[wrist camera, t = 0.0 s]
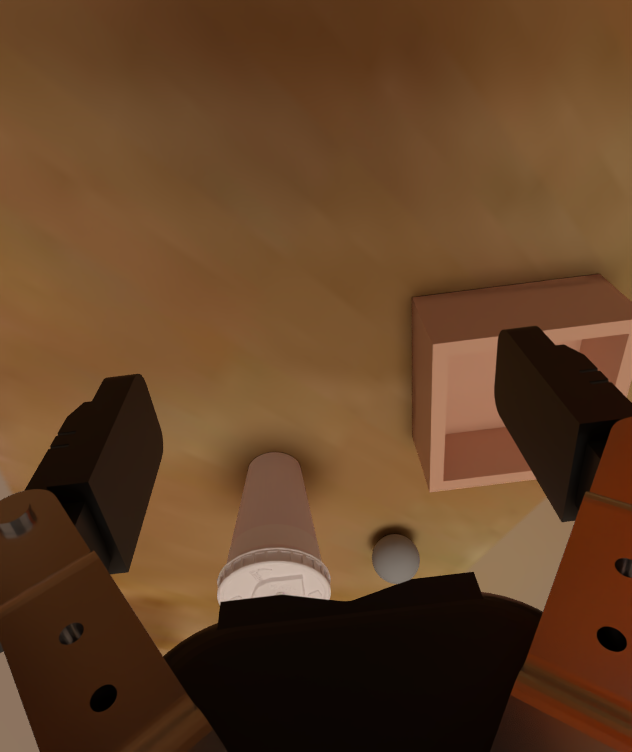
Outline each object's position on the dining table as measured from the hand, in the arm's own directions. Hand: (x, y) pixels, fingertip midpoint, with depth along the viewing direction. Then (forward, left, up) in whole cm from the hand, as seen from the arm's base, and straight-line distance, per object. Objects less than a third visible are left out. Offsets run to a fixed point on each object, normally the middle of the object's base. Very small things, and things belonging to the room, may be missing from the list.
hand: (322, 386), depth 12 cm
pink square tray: (+13, +11, -17) cm, 24 cm away
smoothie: (+20, -4, -17) cm, 27 cm away
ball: (+29, +4, -17) cm, 34 cm away
